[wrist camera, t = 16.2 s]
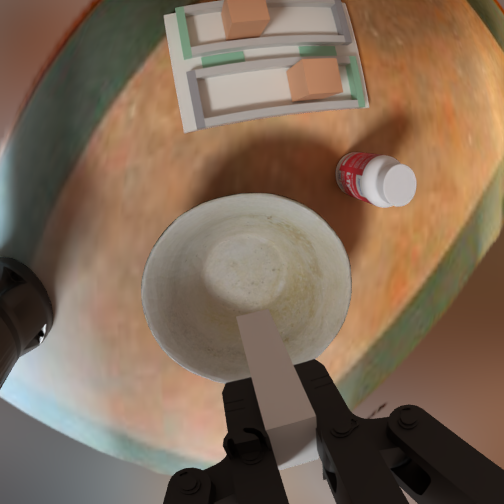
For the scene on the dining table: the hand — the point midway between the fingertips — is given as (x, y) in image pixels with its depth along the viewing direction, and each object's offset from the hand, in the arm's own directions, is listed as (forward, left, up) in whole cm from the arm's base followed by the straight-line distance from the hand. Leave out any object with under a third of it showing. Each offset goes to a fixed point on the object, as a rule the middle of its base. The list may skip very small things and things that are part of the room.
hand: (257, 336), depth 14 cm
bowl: (+1, -8, -27) cm, 28 cm away
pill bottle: (+19, +2, -27) cm, 33 cm away
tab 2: (+13, +14, -25) cm, 32 cm away
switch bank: (+10, +19, -26) cm, 34 cm away
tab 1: (+7, +23, -25) cm, 35 cm away
